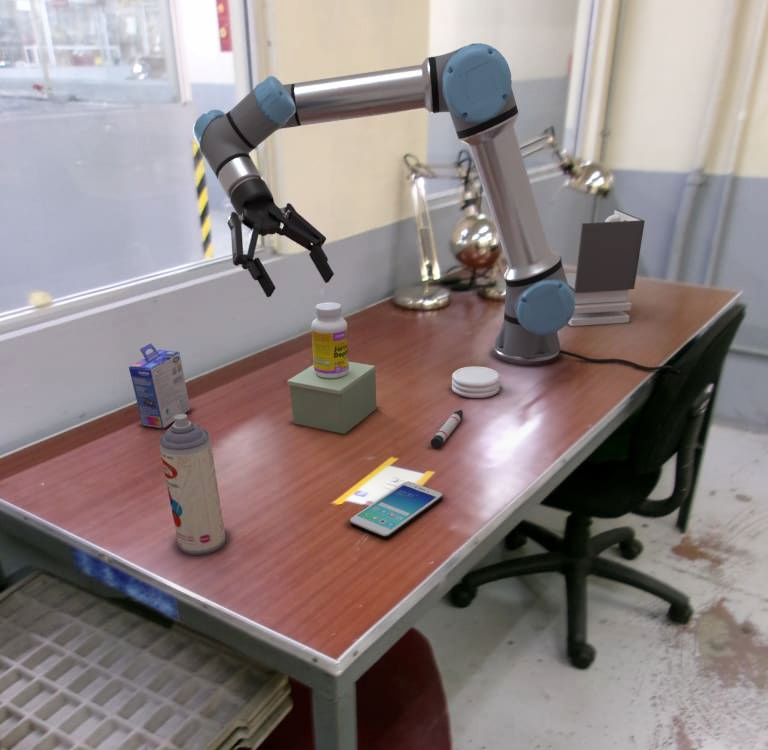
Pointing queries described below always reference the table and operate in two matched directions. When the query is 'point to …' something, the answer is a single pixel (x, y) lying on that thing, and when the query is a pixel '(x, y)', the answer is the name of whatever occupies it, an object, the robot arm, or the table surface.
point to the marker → (446, 429)
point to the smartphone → (396, 509)
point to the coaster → (475, 382)
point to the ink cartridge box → (159, 387)
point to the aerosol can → (192, 487)
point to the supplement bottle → (330, 341)
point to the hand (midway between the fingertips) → (301, 285)
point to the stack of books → (606, 269)
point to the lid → (331, 379)
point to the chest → (334, 406)
